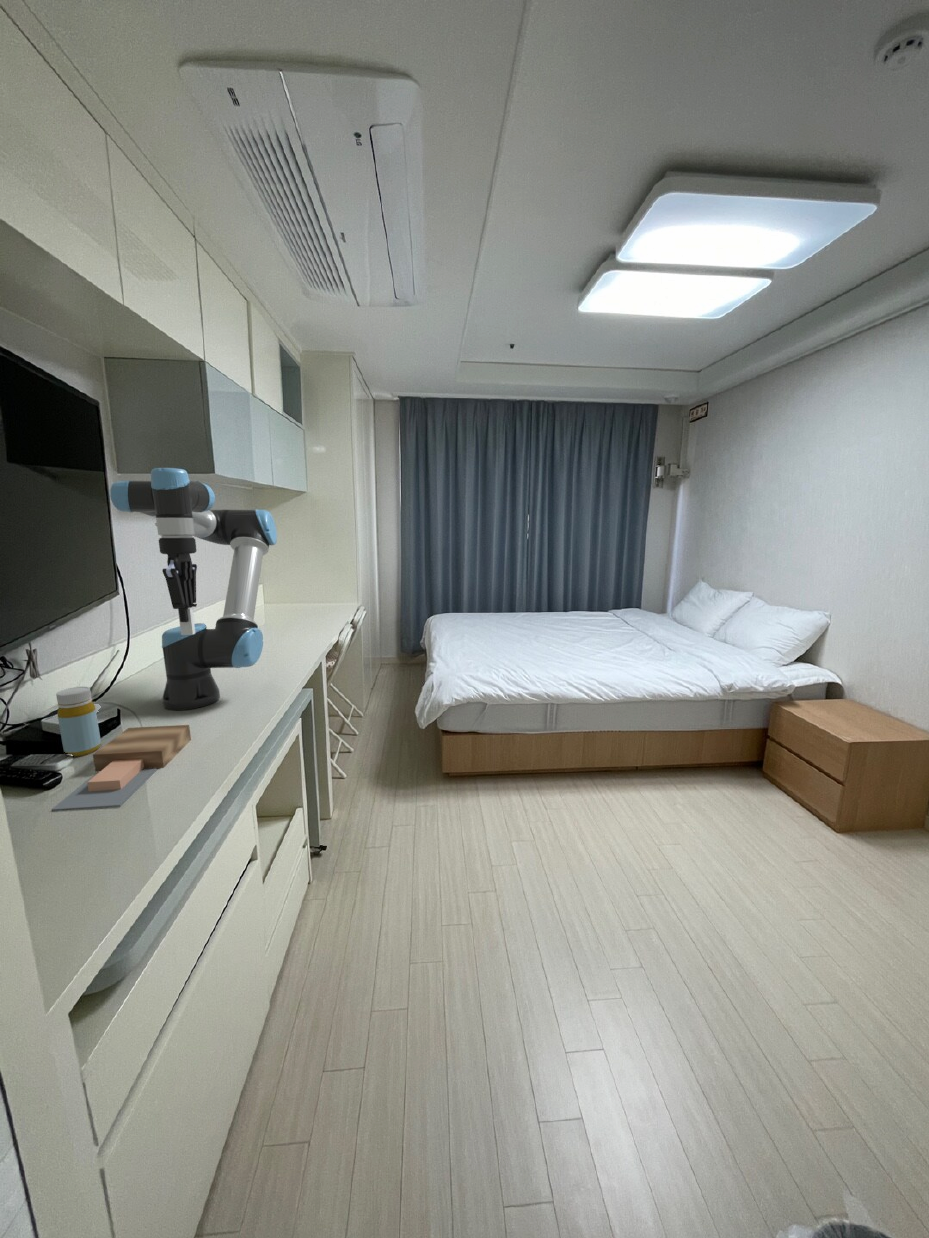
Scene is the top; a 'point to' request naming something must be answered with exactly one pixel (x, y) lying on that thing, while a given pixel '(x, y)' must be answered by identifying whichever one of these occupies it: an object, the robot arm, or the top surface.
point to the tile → (115, 775)
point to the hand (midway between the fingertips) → (188, 634)
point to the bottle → (78, 721)
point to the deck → (144, 746)
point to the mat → (103, 794)
